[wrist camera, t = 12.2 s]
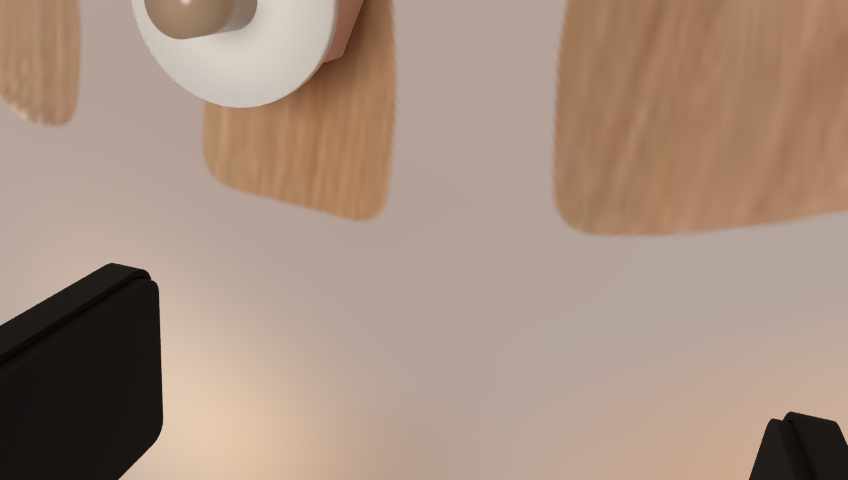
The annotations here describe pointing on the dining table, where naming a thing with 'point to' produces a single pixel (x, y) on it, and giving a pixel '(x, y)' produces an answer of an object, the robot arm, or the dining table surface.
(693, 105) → the dining table surface
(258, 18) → the lid
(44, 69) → the dining table surface
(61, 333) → the robot arm
